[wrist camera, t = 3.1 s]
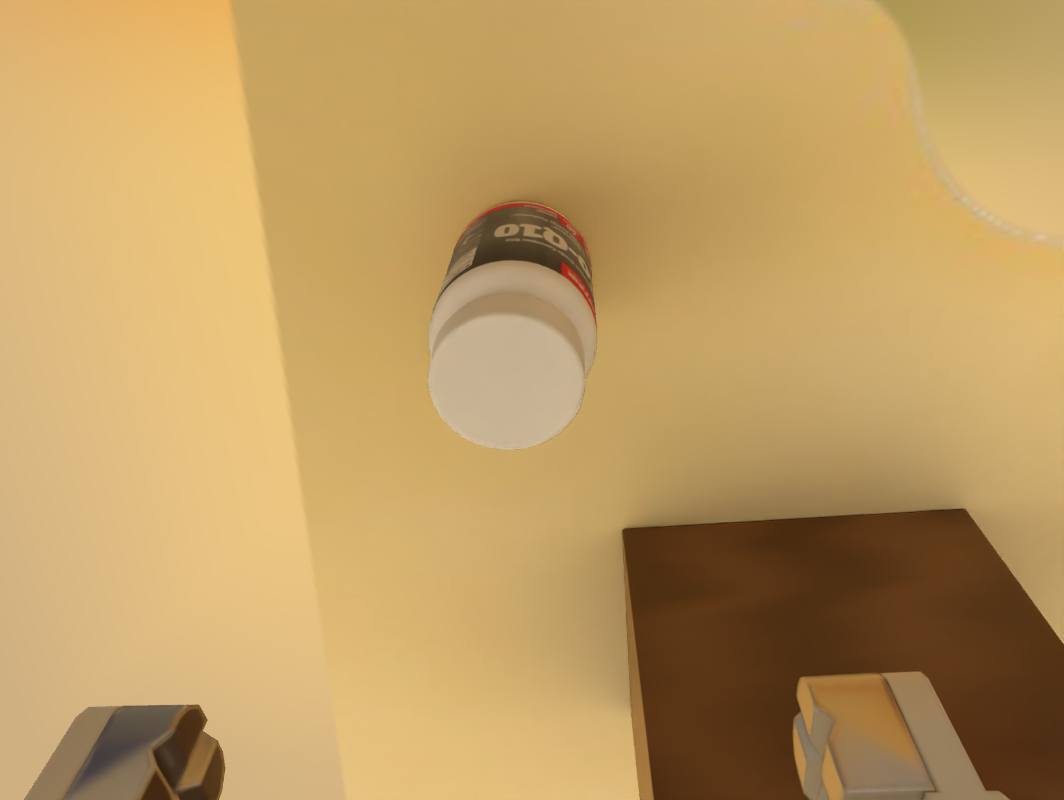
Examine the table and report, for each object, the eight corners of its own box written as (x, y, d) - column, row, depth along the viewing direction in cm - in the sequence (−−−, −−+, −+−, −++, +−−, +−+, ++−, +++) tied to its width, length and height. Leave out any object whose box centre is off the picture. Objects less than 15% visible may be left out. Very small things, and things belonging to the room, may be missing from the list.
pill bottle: (617, 245, 26) (641, 360, 19) (543, 350, 28) (539, 490, 21) (496, 170, 25) (472, 262, 18) (429, 285, 27) (383, 410, 20)
